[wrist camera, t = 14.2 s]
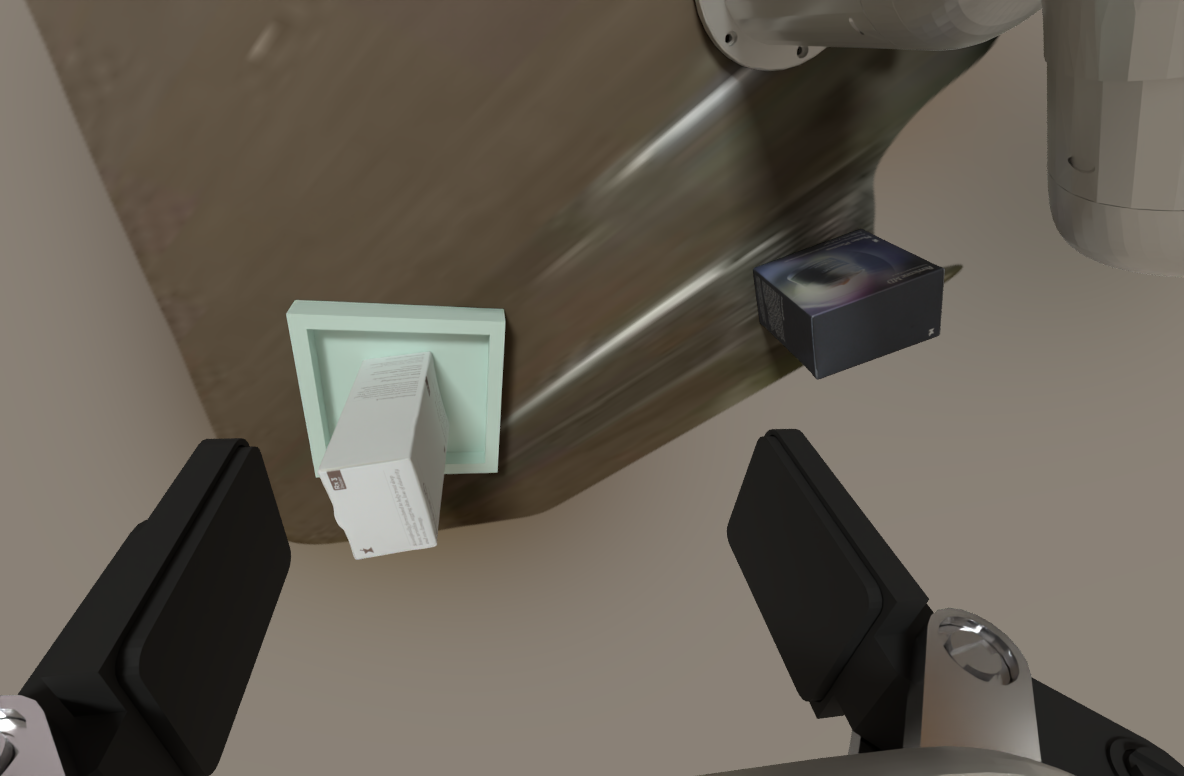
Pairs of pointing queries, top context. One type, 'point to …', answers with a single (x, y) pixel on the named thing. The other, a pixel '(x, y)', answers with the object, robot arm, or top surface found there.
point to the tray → (368, 330)
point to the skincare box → (389, 457)
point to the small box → (849, 301)
